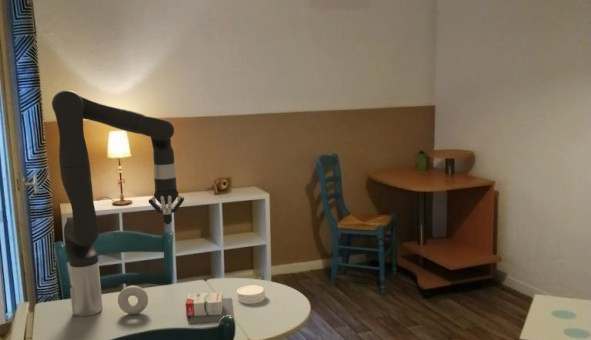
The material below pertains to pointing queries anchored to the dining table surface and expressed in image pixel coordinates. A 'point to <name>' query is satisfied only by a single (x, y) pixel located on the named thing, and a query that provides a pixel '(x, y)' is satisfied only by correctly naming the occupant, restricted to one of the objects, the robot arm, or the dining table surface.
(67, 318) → the dining table surface
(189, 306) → the ink box
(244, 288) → the white round lidded container
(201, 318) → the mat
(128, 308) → the donut
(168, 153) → the robot arm
